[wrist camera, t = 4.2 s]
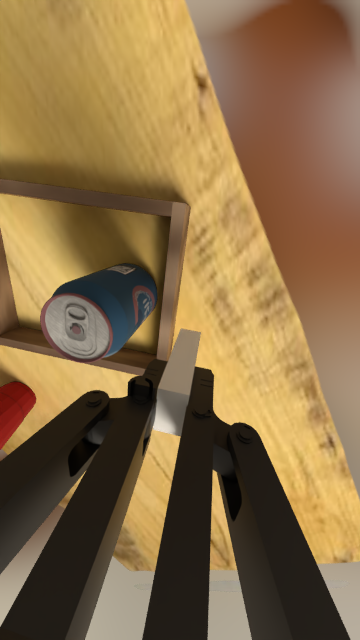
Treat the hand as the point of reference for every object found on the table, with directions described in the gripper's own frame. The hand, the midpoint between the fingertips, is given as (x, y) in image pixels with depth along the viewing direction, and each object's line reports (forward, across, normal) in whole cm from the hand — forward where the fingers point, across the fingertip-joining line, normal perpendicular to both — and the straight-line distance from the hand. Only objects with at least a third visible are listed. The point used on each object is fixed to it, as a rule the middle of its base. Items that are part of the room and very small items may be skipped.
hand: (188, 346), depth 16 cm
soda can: (+11, -8, 0) cm, 14 cm away
